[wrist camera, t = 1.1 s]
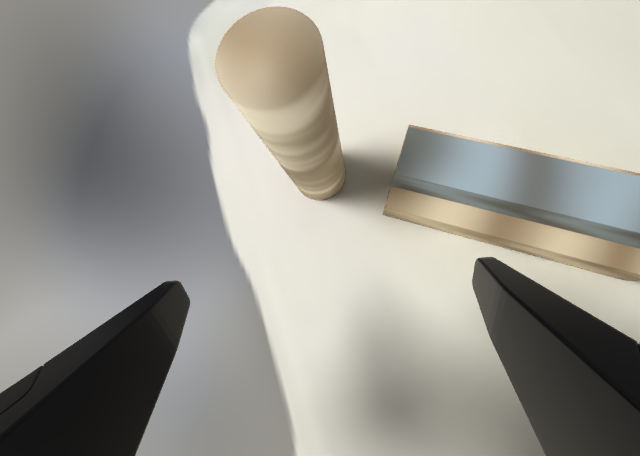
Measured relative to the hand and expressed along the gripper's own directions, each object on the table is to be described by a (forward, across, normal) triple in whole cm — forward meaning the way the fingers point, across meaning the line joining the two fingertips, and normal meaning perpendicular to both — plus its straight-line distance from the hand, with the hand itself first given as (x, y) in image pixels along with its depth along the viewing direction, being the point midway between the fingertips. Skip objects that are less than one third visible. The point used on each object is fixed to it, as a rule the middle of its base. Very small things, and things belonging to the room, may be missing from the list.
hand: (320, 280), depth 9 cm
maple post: (+15, +1, +3) cm, 15 cm away
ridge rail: (+13, -12, +6) cm, 18 cm away
